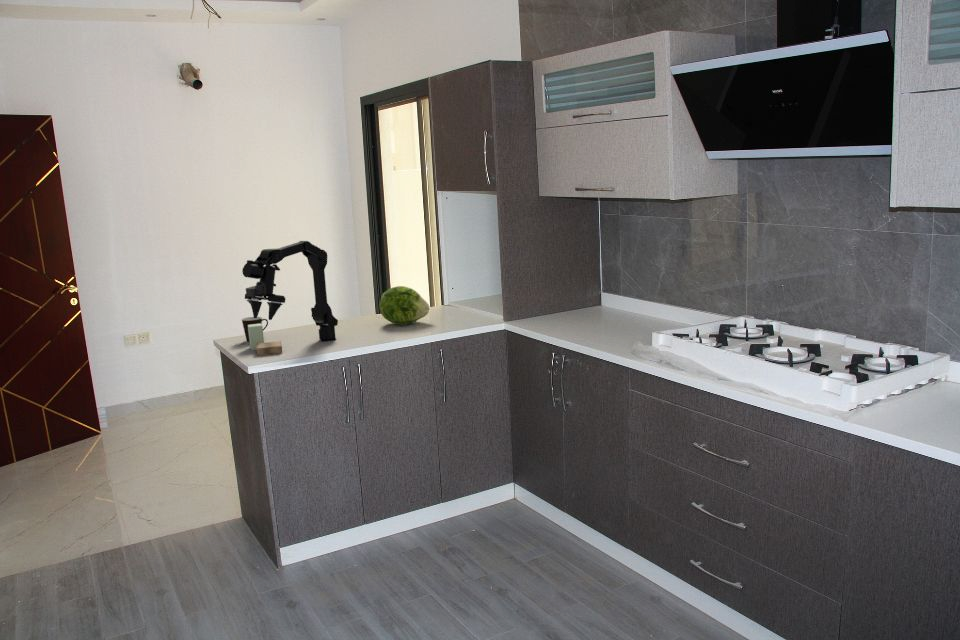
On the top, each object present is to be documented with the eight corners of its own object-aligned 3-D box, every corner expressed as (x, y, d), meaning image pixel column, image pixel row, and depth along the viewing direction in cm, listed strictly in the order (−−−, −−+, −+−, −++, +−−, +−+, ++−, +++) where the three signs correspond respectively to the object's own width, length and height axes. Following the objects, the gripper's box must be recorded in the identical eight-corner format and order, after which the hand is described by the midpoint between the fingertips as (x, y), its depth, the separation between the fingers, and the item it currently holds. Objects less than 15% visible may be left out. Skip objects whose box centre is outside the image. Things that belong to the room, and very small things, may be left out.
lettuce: (424, 329, 364) (428, 289, 362) (374, 323, 366) (378, 284, 365) (431, 326, 383) (435, 288, 382) (383, 321, 385) (387, 283, 384)
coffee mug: (245, 343, 349) (243, 321, 347) (242, 340, 356) (240, 318, 354) (272, 340, 353) (270, 318, 351) (269, 336, 361) (267, 315, 359)
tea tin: (263, 346, 342) (260, 323, 340) (264, 348, 337) (262, 325, 335) (250, 347, 340) (247, 324, 338) (251, 350, 335) (248, 327, 333)
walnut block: (281, 349, 336) (281, 341, 336) (282, 354, 327) (281, 345, 326) (257, 351, 334) (256, 343, 333) (257, 356, 324) (256, 348, 324)
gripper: (235, 276, 319) (231, 315, 318) (265, 279, 308) (261, 319, 307) (258, 280, 328) (253, 317, 327) (288, 282, 317) (283, 321, 316)
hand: (262, 319), depth 319 cm, fingers open, 9 cm apart
